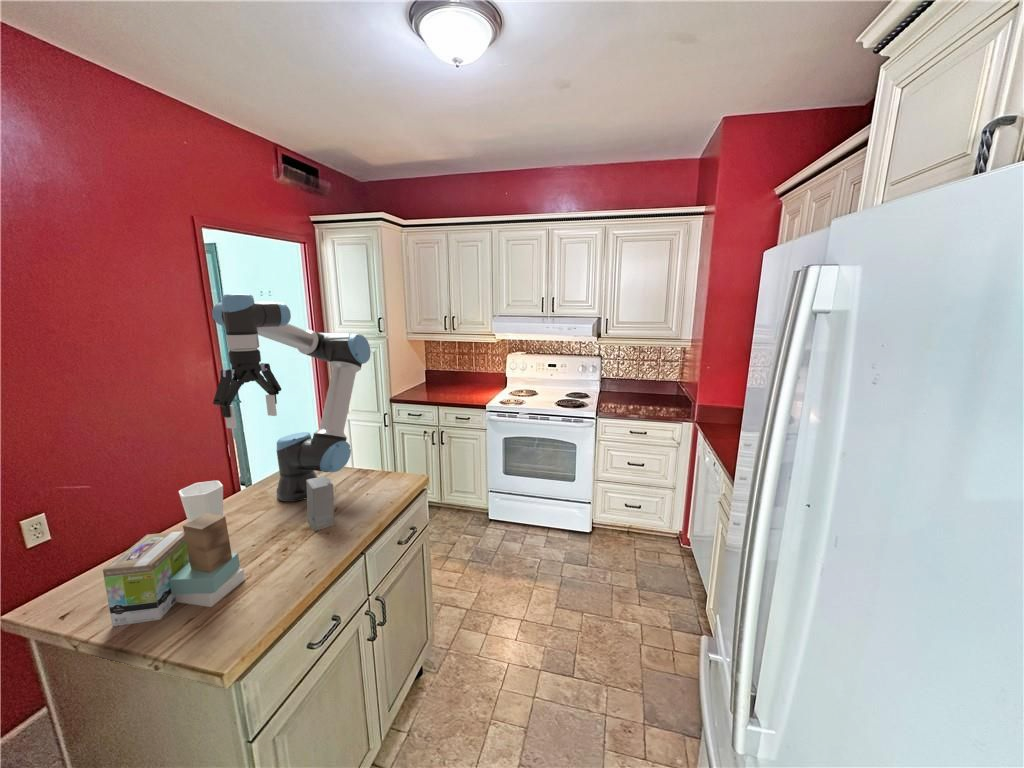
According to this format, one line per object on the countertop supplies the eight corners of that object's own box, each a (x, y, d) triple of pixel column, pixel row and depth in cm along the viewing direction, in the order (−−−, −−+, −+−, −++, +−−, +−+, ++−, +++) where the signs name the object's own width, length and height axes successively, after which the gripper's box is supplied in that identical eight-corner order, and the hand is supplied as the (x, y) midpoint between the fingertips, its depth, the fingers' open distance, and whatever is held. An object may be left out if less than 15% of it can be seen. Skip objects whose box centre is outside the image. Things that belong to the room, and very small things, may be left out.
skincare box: (307, 523, 134) (302, 479, 131) (329, 516, 139) (325, 474, 136) (314, 534, 128) (309, 488, 125) (337, 526, 132) (333, 482, 129)
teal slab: (201, 567, 106) (198, 554, 105) (239, 566, 106) (237, 552, 106) (171, 594, 96) (168, 579, 95) (214, 592, 97) (212, 578, 96)
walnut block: (214, 554, 105) (207, 512, 102) (232, 558, 103) (225, 516, 101) (191, 568, 99) (182, 525, 96) (209, 573, 98) (201, 529, 95)
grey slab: (213, 577, 108) (211, 564, 107) (245, 582, 106) (243, 569, 105) (176, 604, 98) (174, 590, 97) (211, 610, 96) (209, 595, 96)
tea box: (162, 621, 93) (151, 564, 90) (111, 628, 90) (98, 570, 88) (198, 578, 107) (189, 528, 104) (154, 584, 105) (144, 533, 102)
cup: (212, 527, 132) (204, 479, 129) (237, 530, 130) (230, 481, 127) (178, 546, 121) (169, 494, 118) (205, 550, 119) (197, 498, 116)
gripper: (270, 345, 126) (277, 410, 130) (189, 353, 102) (201, 432, 106) (289, 345, 124) (296, 411, 128) (211, 354, 100) (222, 435, 104)
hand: (253, 421), depth 117 cm, fingers open, 13 cm apart
